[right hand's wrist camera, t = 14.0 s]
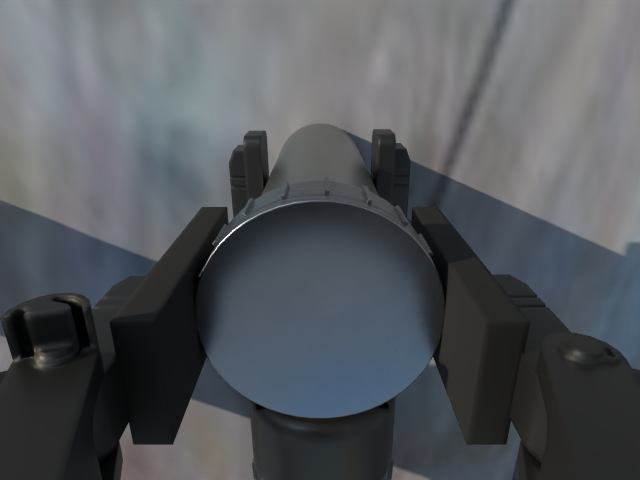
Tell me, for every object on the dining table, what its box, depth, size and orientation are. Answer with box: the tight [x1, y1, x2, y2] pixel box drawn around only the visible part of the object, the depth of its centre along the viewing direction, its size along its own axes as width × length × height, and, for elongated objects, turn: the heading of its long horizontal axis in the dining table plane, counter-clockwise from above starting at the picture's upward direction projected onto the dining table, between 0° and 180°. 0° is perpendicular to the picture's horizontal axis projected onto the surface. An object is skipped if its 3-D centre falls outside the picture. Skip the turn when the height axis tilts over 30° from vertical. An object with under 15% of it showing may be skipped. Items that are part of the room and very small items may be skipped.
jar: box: [261, 124, 379, 196], centre depth 18 cm, size 5×5×16 cm
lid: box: [195, 177, 445, 418], centre depth 11 cm, size 6×6×2 cm
